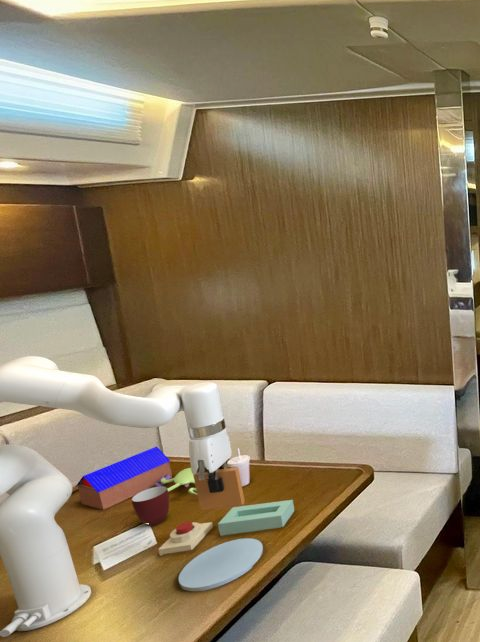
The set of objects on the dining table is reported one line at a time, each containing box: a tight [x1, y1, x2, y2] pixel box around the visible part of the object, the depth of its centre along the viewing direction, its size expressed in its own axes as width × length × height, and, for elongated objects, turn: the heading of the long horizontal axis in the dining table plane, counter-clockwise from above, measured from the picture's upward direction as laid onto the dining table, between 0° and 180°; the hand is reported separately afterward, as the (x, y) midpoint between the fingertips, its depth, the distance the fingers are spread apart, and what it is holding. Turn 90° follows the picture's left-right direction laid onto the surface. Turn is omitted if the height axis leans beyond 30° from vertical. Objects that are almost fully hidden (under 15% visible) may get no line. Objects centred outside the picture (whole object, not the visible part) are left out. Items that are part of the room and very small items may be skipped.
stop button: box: [175, 521, 193, 535], centre depth 133 cm, size 4×4×2 cm
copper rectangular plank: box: [193, 467, 246, 512], centre depth 125 cm, size 2×10×11 cm, turn 102°
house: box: [75, 446, 173, 510], centre depth 158 cm, size 12×20×12 cm, turn 163°
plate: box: [178, 537, 264, 592], centre depth 125 cm, size 18×18×1 cm
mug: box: [131, 485, 170, 527], centre depth 142 cm, size 11×8×10 cm
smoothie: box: [227, 447, 251, 487], centre depth 161 cm, size 6×6×14 cm
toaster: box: [217, 499, 295, 537], centre depth 141 cm, size 8×17×4 cm, turn 102°
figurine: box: [155, 467, 198, 497], centre depth 158 cm, size 18×27×6 cm
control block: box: [158, 521, 214, 557], centre depth 133 cm, size 10×8×4 cm
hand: (219, 488), depth 125 cm, fingers closed on copper rectangular plank, 1 cm apart
